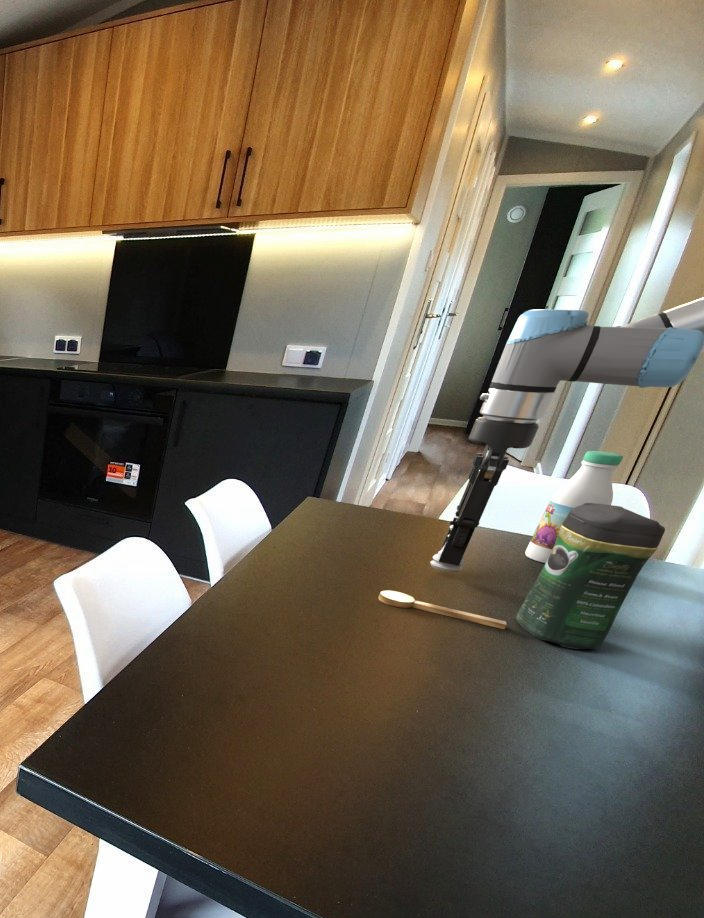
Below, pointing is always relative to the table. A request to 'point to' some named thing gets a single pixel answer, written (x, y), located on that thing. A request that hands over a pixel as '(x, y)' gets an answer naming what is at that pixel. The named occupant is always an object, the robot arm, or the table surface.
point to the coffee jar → (588, 575)
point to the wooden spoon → (436, 609)
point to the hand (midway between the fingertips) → (448, 558)
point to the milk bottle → (574, 499)
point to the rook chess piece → (445, 566)
